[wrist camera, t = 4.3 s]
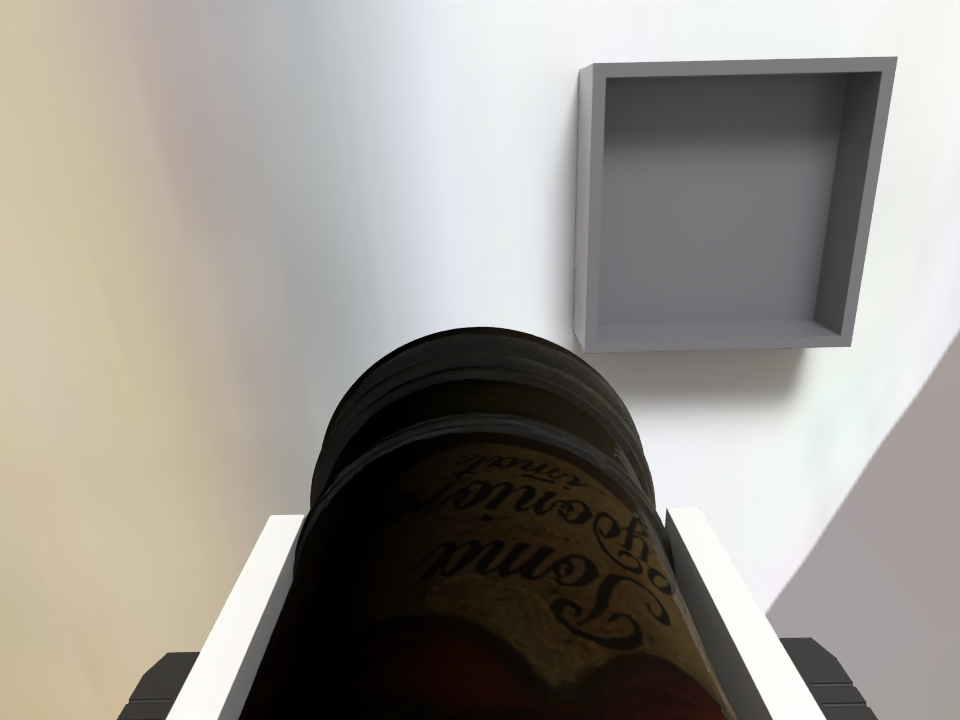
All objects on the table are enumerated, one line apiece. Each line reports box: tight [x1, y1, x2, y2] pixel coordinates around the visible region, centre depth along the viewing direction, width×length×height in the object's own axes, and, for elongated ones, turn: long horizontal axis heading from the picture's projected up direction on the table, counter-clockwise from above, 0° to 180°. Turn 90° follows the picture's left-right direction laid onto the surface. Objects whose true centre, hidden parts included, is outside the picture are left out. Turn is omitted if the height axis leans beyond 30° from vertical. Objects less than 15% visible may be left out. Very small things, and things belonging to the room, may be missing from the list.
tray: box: [573, 57, 898, 353], centre depth 29 cm, size 12×12×4 cm
